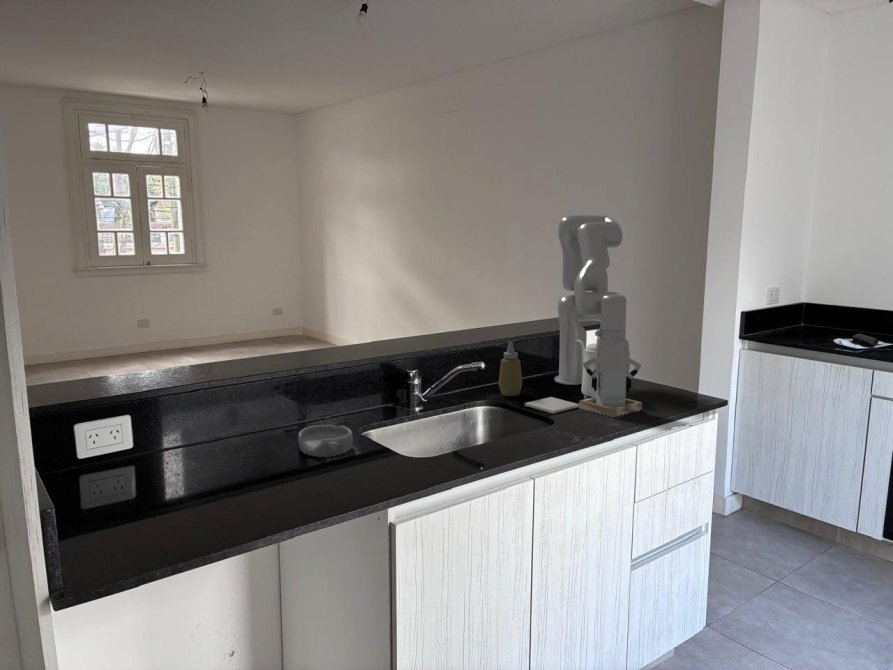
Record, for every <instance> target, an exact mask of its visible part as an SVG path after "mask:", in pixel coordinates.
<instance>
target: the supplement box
mask: <svg viewBox="0 0 893 670" xmlns="http://www.w3.org/2000/svg"><path fill="white" fill-rule="evenodd" d="M626 377H627V375H626V372H601V373H599V374H598V375H597V391H596V404H599V405H603V406H607V407H611V408H616V407H620V406H624V405H625V400H626V399H627V398H626V397H627V391H626Z"/></svg>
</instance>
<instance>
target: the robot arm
mask: <svg viewBox="0 0 893 670" xmlns="http://www.w3.org/2000/svg"><path fill="white" fill-rule="evenodd" d="M557 231H558V232H557V233H558V239H559V242H560V247H561V251H562V285H563V288H564V289H565V290H566V291H569V292H570V291H571V292H574V293H573V294H568V295H565V296H563V297H561V298H560V299H559V300H558V303H557V314H558V320H559V357H558V358H559V364H558V365H559V366H558V375H556V376H555V377H554V381H555V382H556V383H558V384H562V385H571V386H572V385H573V386H574V385H575V386H576V385H577V386H579V385H580V384H581V385H582V380H583V366H584V368H585V370H586V372H587V373H588V374H589V375H590V376H591V377H592V388H594V391H597V378H596V376H597V375H598V374H599V373H601V372H626V393H628V392H630V389H632V379H633V378H634V377H635V376H636V375H638V373H639V371H640V369H641V367H642V364H641V363H640V362H638V361H636V360H634V359H633V358H631V357H630V344H629V340H628V339H626V332H627V331H626V329H627V326H626V325H627V297H626V296H625V295H623V294H620V293H618V292H616V291H609V290H608V289H609V288H608V287H609V276H608V271H607V269H608V268H609V267H610V265H611V259H610V255H609V251H608V250H609V248H618V247H619V246H620V245H621V244H622V241H623V238H624V237H623V230H622V228H621V225H620V224H619V222H617V221H616V220H614V219H613V218H611V217H610V216H607V215H600V214H599V215H594V214H593V215H588V214H584V215H583V214H578V215H575V214H574V215H568V216H564V217H563V218H561V219H560V221H559V224H558V227H557ZM581 322H600V323H599V324H600V325H599V330H598V331H596V330H595V332H594V336H597V337H598V341H597V342H596V343H597V346H596V353H595V358H593V359H590V360H588V361H586V362H584V363H583V356H582V345H581V343H580V342H577V341H576V340H581V341H582V342H583V343H584V346H585V349H586V348H587V337H588V336H587V332H586V330H585V328H584V327H583V326H582V325H581ZM593 363H595V370H594V371H593V372H592V371H591V370H590V369H589V365H591V364H593ZM631 365H633V366H634V369H632V370H631V371H630V368H631V367H630V366H631Z"/></svg>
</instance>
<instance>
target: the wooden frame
mask: <svg viewBox="0 0 893 670" xmlns="http://www.w3.org/2000/svg"><path fill="white" fill-rule="evenodd" d="M578 404H579V407H578V409H579V410H584V411H586V412H590V411H591V413H593V412H595V413H594V414H597V413H599V414H598V415H601V414H603V415H602V416H605V415H607V416H606V417H608V416H610V418H612V417H616V418H618V417H617V416H619V417H621V416H620V415H623V416H625V415H624V414H626V415H629V414H628V413H630V414H632V413H631V412H634V413H636V412H635V411H637V412H641V411H642V409H643V402H642V401H638V400H635V399H634V400H633V399H629V398H626V400H625V405H624V406H620V407H616V408H611V407H607V406H603V405H599V404H596V397H589V398H586V399H585V398H584V399H581V400H579V401H578ZM640 410H641V411H640Z"/></svg>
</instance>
